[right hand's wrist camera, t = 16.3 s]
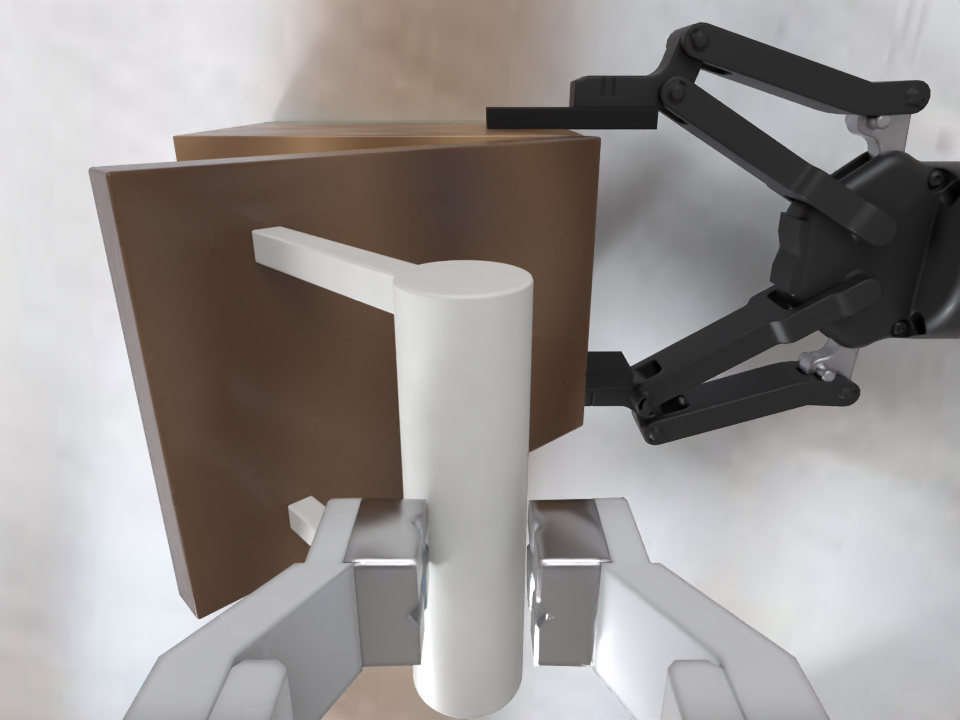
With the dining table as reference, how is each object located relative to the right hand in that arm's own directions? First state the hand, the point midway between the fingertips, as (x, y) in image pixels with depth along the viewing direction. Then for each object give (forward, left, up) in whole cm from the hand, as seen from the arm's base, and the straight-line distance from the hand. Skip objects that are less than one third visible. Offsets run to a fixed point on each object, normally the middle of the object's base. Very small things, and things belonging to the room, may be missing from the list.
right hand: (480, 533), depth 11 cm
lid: (-2, -1, -9) cm, 10 cm away
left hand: (0, 0, -20) cm, 20 cm away
